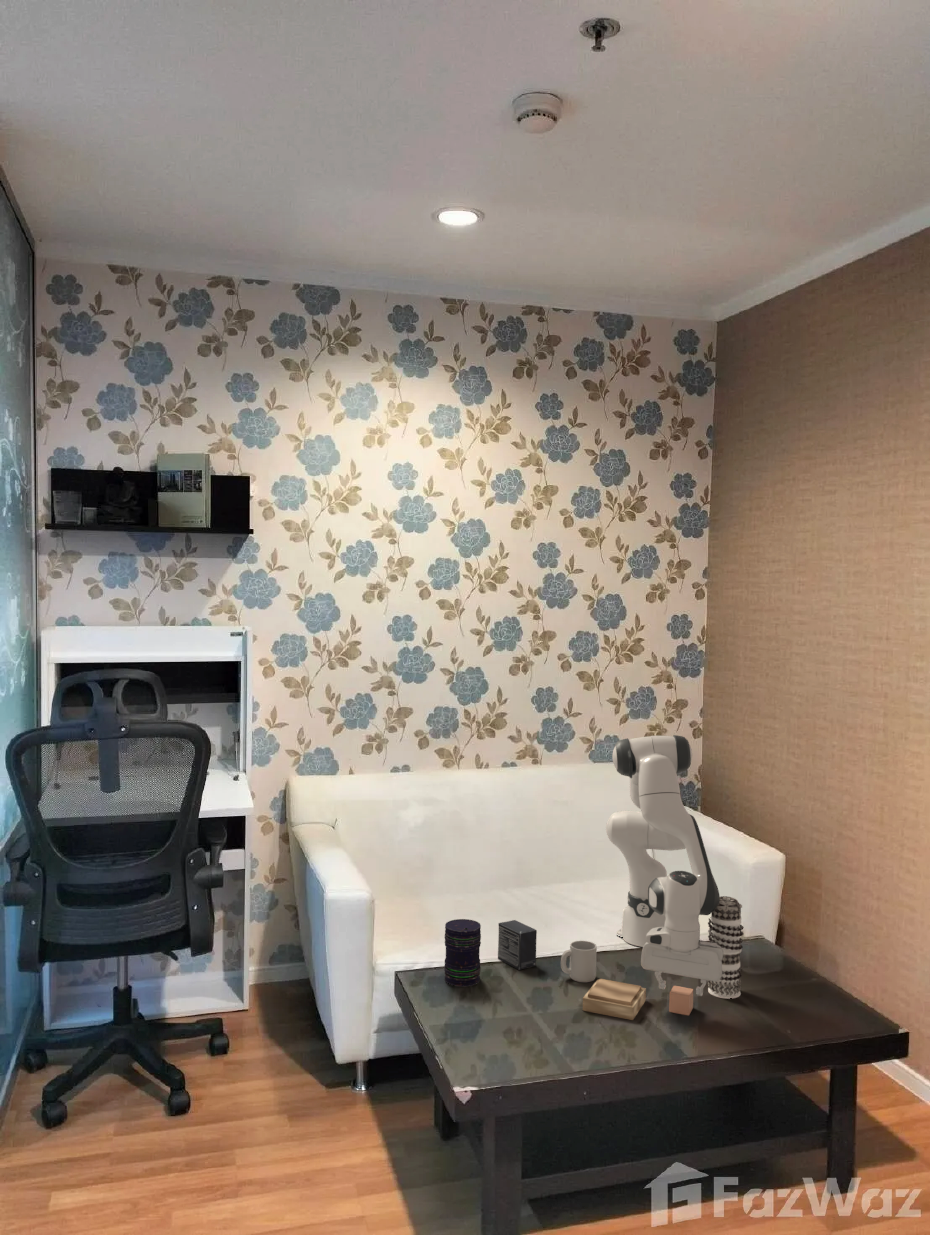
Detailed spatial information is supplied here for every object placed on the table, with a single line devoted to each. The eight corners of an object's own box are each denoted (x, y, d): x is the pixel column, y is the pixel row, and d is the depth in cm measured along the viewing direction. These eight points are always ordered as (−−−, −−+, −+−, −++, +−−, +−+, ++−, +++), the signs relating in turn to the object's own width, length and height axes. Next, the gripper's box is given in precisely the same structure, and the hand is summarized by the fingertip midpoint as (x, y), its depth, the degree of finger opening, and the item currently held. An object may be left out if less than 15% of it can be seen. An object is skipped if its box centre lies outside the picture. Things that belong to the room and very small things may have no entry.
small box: (537, 966, 284) (538, 929, 283) (519, 971, 280) (519, 933, 279) (514, 954, 292) (515, 918, 292) (496, 958, 289) (497, 922, 288)
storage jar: (439, 974, 277) (440, 920, 276) (473, 970, 280) (474, 917, 279) (450, 988, 267) (451, 933, 266) (485, 984, 270) (486, 929, 270)
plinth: (597, 991, 267) (597, 976, 266) (645, 1000, 261) (646, 985, 261) (582, 1010, 255) (582, 994, 255) (632, 1020, 249) (633, 1004, 249)
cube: (673, 1004, 259) (673, 985, 259) (692, 1008, 257) (693, 989, 257) (669, 1012, 255) (669, 992, 255) (688, 1015, 253) (689, 996, 252)
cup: (599, 981, 273) (600, 949, 273) (564, 984, 271) (564, 951, 271) (591, 971, 280) (591, 940, 280) (556, 973, 278) (557, 942, 278)
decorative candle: (699, 992, 267) (701, 899, 266) (717, 982, 274) (719, 891, 273) (731, 1002, 261) (733, 907, 260) (748, 992, 268) (750, 899, 267)
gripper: (725, 940, 254) (724, 994, 254) (645, 927, 262) (644, 980, 262) (721, 948, 248) (719, 1003, 248) (639, 935, 256) (638, 988, 257)
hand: (680, 991), depth 255 cm, fingers open, 8 cm apart
